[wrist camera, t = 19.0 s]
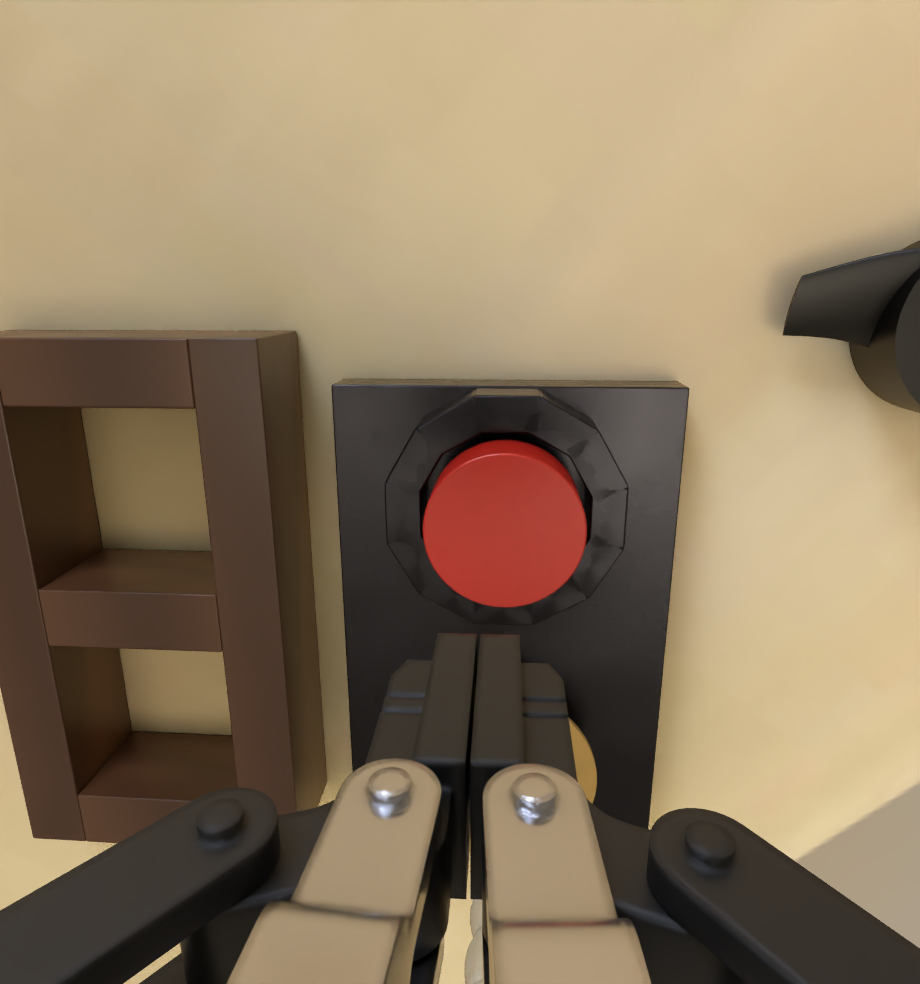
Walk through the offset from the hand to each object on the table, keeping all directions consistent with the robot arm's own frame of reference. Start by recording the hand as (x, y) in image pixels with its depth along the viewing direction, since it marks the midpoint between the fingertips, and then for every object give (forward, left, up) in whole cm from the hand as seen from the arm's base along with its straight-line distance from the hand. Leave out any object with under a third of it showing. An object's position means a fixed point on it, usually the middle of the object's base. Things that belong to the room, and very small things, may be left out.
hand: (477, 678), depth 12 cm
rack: (+4, -13, -14) cm, 19 cm away
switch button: (0, 0, -11) cm, 11 cm away
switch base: (+5, 0, -14) cm, 15 cm away
